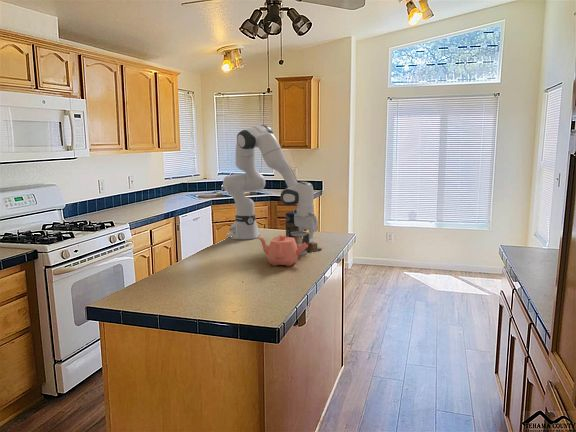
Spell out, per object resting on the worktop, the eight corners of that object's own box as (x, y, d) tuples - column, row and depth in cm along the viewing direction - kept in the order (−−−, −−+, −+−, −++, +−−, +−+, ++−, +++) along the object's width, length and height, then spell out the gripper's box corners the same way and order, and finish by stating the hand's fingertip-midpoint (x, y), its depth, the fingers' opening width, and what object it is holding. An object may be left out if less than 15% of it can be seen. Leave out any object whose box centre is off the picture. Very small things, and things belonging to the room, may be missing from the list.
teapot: (277, 271, 205) (276, 241, 203) (257, 262, 220) (256, 234, 218) (309, 264, 215) (309, 235, 213) (288, 256, 230) (287, 230, 228)
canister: (283, 240, 268) (282, 210, 265) (297, 238, 272) (297, 208, 269) (290, 243, 260) (289, 212, 257) (304, 241, 264) (304, 211, 261)
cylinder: (302, 246, 246) (302, 232, 245) (303, 245, 249) (303, 231, 248) (309, 247, 245) (308, 232, 244) (309, 245, 249) (309, 231, 248)
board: (291, 246, 253) (291, 239, 252) (301, 244, 257) (301, 237, 256) (311, 252, 238) (310, 244, 238) (321, 250, 242) (321, 242, 241)
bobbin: (287, 253, 237) (287, 232, 236) (300, 250, 242) (300, 230, 240) (296, 256, 231) (296, 235, 229) (310, 253, 235) (309, 232, 233)
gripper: (320, 214, 237) (321, 239, 239) (301, 208, 255) (302, 232, 257) (310, 215, 234) (310, 241, 236) (291, 209, 252) (292, 234, 254)
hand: (306, 236), depth 247 cm, fingers open, 8 cm apart
